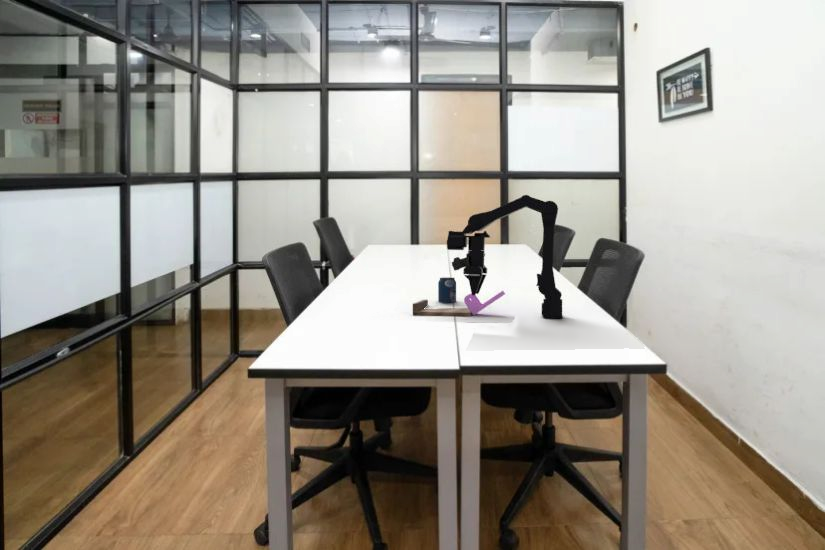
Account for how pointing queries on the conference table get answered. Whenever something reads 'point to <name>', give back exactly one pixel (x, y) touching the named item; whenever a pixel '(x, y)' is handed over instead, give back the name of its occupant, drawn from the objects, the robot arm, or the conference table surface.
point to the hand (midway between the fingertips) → (475, 294)
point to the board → (438, 310)
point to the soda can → (447, 290)
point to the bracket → (476, 305)
